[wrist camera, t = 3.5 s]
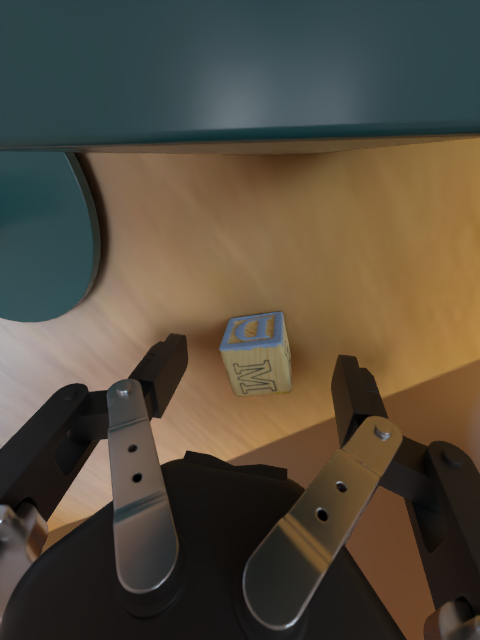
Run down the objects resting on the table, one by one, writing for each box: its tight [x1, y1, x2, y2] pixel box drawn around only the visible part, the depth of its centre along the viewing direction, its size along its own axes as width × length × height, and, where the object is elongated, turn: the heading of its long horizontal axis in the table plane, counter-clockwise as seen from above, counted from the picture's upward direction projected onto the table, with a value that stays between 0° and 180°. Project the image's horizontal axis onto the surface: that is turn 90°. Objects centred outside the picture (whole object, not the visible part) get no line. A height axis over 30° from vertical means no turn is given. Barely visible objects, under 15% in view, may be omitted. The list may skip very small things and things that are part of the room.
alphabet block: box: [219, 312, 292, 397], centre depth 14 cm, size 3×3×3 cm
